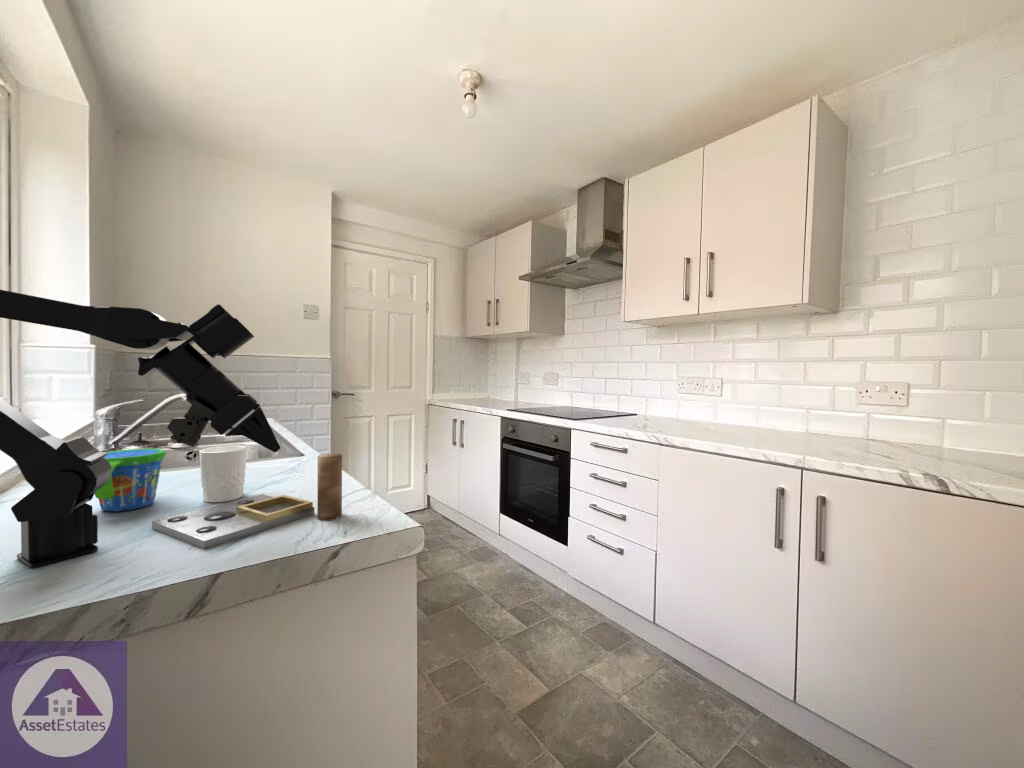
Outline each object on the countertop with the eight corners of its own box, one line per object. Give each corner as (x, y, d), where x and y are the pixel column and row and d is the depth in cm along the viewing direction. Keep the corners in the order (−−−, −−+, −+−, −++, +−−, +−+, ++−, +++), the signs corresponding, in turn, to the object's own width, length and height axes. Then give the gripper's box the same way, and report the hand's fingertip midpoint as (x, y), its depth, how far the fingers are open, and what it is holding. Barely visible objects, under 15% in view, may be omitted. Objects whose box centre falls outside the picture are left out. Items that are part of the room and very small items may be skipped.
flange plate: (204, 549, 61) (204, 534, 61) (151, 528, 69) (151, 515, 69) (314, 513, 77) (314, 501, 77) (262, 500, 85) (262, 489, 85)
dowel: (318, 521, 73) (318, 458, 73) (316, 514, 77) (316, 454, 76) (343, 518, 75) (343, 456, 75) (340, 511, 79) (340, 452, 78)
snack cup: (124, 495, 86) (124, 446, 86) (183, 493, 89) (183, 445, 88) (60, 522, 71) (59, 462, 71) (133, 519, 73) (132, 460, 73)
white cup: (255, 493, 90) (255, 446, 89) (226, 504, 82) (226, 453, 81) (220, 491, 90) (220, 444, 90) (189, 502, 83) (189, 451, 82)
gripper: (160, 411, 71) (236, 473, 76) (134, 419, 55) (232, 496, 60) (220, 367, 75) (287, 428, 81) (211, 362, 59) (296, 439, 65)
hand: (276, 446), depth 71 cm, fingers open, 9 cm apart
